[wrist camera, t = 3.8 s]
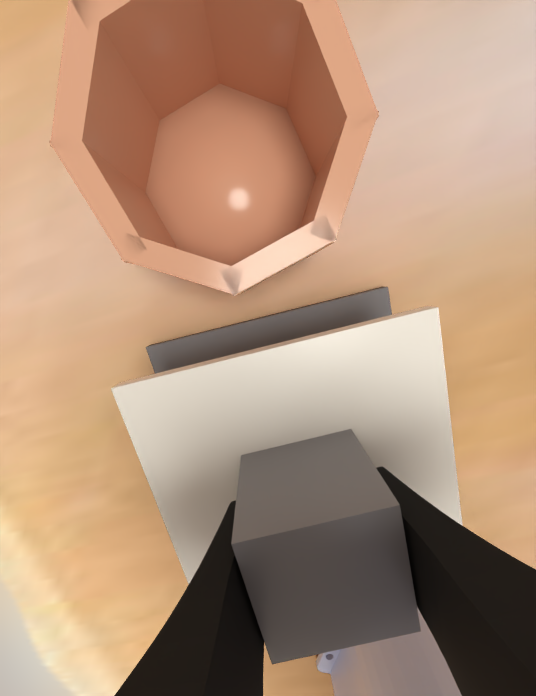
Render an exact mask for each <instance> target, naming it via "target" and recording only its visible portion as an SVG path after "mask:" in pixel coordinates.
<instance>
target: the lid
mask: <svg viewBox="0 0 536 696" xmlns="http://www.w3.org/2000/svg"><path fill="white" fill-rule="evenodd" d="M111 390H112V392H113V395H114V397H115V400H116V402H117V405H118V407H119V410H120V412H121V415H122V417H123V420H124V422H125V425H126V428H127V430H128V433H129V435H130V438H131V440H132V443H133V445H134V448H135V450H136V453H137V455H138V458H139V460H140V463H141V465H142V468H143V470H144V473H145V475H146V478H147V480H148V483H149V485H150V488H151V490H152V493H153V496H154V498H155V501H156V503H157V506H158V508H159V511H160V513H161V516H162V518H163V521H164V523H165V526H166V528H167V531H168V533H169V536H170V538H171V541H172V543H173V546H174V548H175V551H176V553H177V556H178V559H179V561H180V564H181V566H182V569H183V571H184V574H185V576H186V579H187V581H188V584H189V583H190V582H191V580H192V578H193V576H194V574H195V573H196V571H197V569H198V567H199V565H200V564H201V562H202V560H203V558H204V556H205V554H206V552H207V550H208V548H209V546H210V544H211V542H212V540H213V538H214V536H215V534H216V532H217V530H218V528H219V526H220V524H221V522H222V519H223V517H224V515H225V513H226V511H227V508H228V506H229V504H230V503H231V501H235V500H236V506H235V515H234V524H233V533H232V542H231V545H232V548H233V551H234V554H235V557H236V560H237V562H238V565H239V568H240V571H241V574H242V577H243V580H244V583H245V586H246V589H247V592H248V595H249V598H250V601H251V604H252V607H253V610H254V613H255V615H256V618H257V621H258V624H259V627H260V630H261V633H262V636H263V639H264V642H265V645H266V648H267V651H268V654H269V657H270V660H271V663H272V664H276V663H280V662H285V661H289V660H294V659H298V658H303V657H308V656H312V655H317V654H321V653H326V652H330V651H335V650H339V649H344V648H348V647H353V646H357V645H362V644H366V643H371V642H376V641H380V640H385V639H389V638H394V637H398V636H403V635H407V634H412V633H416V632H421V628H420V622H419V616H418V610H417V604H416V598H415V592H414V586H413V580H412V574H411V568H410V562H409V556H408V550H407V544H406V538H405V532H404V526H403V520H402V515H401V509H400V504H399V503H398V501H397V500H396V498H395V497H394V495H393V493H392V492H391V490H390V489H389V487H388V486H387V484H386V483H385V481H384V479H383V478H382V476H381V475H380V473H379V472H378V470H377V467H381V466H383V467H384V468H386V469H387V470H388V471H389V472H391V473H392V474H393V475H394V476H396V477H397V478H398V479H399V480H400V481H402V482H403V483H404V484H405V485H407V486H408V487H409V488H411V489H412V490H413V491H414V492H416V493H417V494H418V495H420V496H421V497H422V498H424V499H425V500H426V501H428V502H429V503H431V504H432V505H433V506H435V507H436V508H438V509H439V510H440V511H442V512H443V513H444V514H446V515H447V516H449V517H450V518H452V519H453V520H455V521H456V522H458V523H459V524H461V525H462V517H461V508H460V499H459V490H458V481H457V472H456V463H455V454H454V445H453V436H452V427H451V418H450V409H449V400H448V391H447V382H446V373H445V364H444V355H443V346H442V337H441V328H440V319H439V310H438V307H433V306H425V307H421V308H417V309H413V310H409V311H405V312H401V313H397V314H393V315H389V316H385V317H381V318H377V319H373V320H369V321H365V322H361V323H357V324H353V325H349V326H345V327H340V328H336V329H332V330H328V331H324V332H320V333H316V334H312V335H308V336H304V337H300V338H296V339H292V340H288V341H284V342H280V343H276V344H272V345H268V346H264V347H260V348H256V349H252V350H248V351H244V352H240V353H236V354H232V355H228V356H224V357H220V358H216V359H212V360H208V361H204V362H200V363H196V364H192V365H188V366H184V367H180V368H176V369H172V370H168V371H164V372H160V373H156V374H152V375H148V376H144V377H140V378H136V379H132V380H128V381H124V382H120V383H118V384H117V385H115V386H114V387H113V388H111Z"/></svg>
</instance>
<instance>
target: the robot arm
mask: <svg viewBox="0 0 536 696" xmlns="http://www.w3.org/2000/svg"><path fill="white" fill-rule="evenodd" d="M377 470H378V472H379V473H380V475H381V476H382V478H383V479H384V481H385V483H386V484H387V486H388V487H389V489H390V490H391V492H392V493H393V495H394V497H395V498H396V500H397V501H398V503H399V504H400V509H401V515H402V520H403V526H404V532H405V538H406V544H407V550H408V556H409V562H410V568H411V574H412V580H413V586H414V592H415V598H416V604H417V610H418V616H419V622H420V628H421V632H416V633H412V634H407V635H403V636H398V637H394V638H389V639H385V640H380V641H376V642H371V643H366V644H362V645H357V646H353V647H348V648H344V649H339V650H335V651H330V652H326V653H321V654H319V655H318V657H317V659H316V664H317V669H318V670H319V671H320V672H323V673H329V674H331V679H332V685H333V690H334V696H536V570H535V569H534V568H532V567H530V566H528V565H526V564H524V563H523V562H521V561H519V560H517V559H516V558H514V557H512V556H511V555H509V554H507V553H505V552H504V551H502V550H500V549H499V548H497V547H495V546H494V545H492V544H490V543H489V542H487V541H485V540H484V539H482V538H481V537H479V536H477V535H476V534H474V533H473V532H471V531H470V530H468V529H467V528H465V527H464V526H462V525H461V524H459V523H458V522H456V521H455V520H453V519H452V518H450V517H449V516H447V515H446V514H444V513H443V512H442V511H440V510H439V509H438V508H436V507H435V506H433V505H432V504H431V503H429V502H428V501H426V500H425V499H424V498H422V497H421V496H420V495H418V494H417V493H416V492H414V491H413V490H412V489H411V488H409V487H408V486H407V485H405V484H404V483H403V482H402V481H400V480H399V479H398V478H397V477H396V476H394V475H393V474H392V473H391V472H389V471H388V470H387V469H386V468H384V467H383V466H381V467H377ZM235 506H236V500H235V501H231V503H230V504H229V506H228V508H227V511H226V513H225V515H224V517H223V519H222V522H221V524H220V526H219V528H218V530H217V532H216V534H215V536H214V538H213V540H212V542H211V544H210V546H209V548H208V550H207V552H206V554H205V556H204V558H203V560H202V562H201V564H200V565H199V567H198V569H197V571H196V573H195V574H194V576H193V578H192V580H191V582H190V583H189V585H188V587H187V589H186V590H185V592H184V594H183V596H182V597H181V599H180V601H179V602H178V604H177V606H176V607H175V609H174V610H173V612H172V614H171V615H170V617H169V618H168V620H167V622H166V623H165V625H164V626H163V628H162V629H161V631H160V632H159V634H158V635H157V637H156V638H155V640H154V641H153V643H152V644H151V646H150V647H149V648H148V650H147V651H146V653H145V654H144V656H143V657H142V658H141V660H140V661H139V663H138V664H137V666H136V667H135V668H134V670H133V671H132V672H131V674H130V675H129V677H128V678H127V679H126V681H125V682H124V683H123V685H122V686H121V688H120V689H119V690H118V692H117V693H116V694H115V696H263V658H264V639H263V636H262V633H261V630H260V627H259V624H258V621H257V618H256V615H255V613H254V610H253V607H252V604H251V601H250V598H249V595H248V592H247V589H246V586H245V583H244V580H243V577H242V574H241V571H240V568H239V565H238V562H237V560H236V557H235V554H234V551H233V548H232V545H231V542H232V533H233V524H234V515H235Z"/></svg>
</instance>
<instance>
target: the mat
mask: <svg viewBox="0 0 536 696" xmlns="http://www.w3.org/2000/svg"><path fill="white" fill-rule="evenodd" d="M389 315H392V312H391V305H390V298H389V291H388V287H381V288H377V289H373V290H369V291H365V292H361V293H357V294H353V295H349V296H345V297H341V298H337V299H333V300H329V301H325V302H321V303H317V304H313V305H309V306H305V307H301V308H297V309H293V310H289V311H285V312H281V313H277V314H273V315H269V316H265V317H261V318H257V319H253V320H249V321H245V322H241V323H237V324H233V325H229V326H225V327H221V328H217V329H213V330H209V331H205V332H201V333H197V334H193V335H189V336H185V337H181V338H177V339H173V340H169V341H165V342H161V343H157V344H153V345H149V346H148V347H146V349H147V352H148V355H149V358H150V361H151V364H152V366H153V369H154V372H155V374H156V373H160V372H164V371H168V370H172V369H176V368H180V367H184V366H188V365H192V364H196V363H200V362H204V361H208V360H212V359H216V358H220V357H224V356H228V355H232V354H236V353H240V352H244V351H248V350H252V349H256V348H260V347H264V346H268V345H272V344H276V343H280V342H284V341H288V340H292V339H296V338H300V337H304V336H308V335H312V334H316V333H320V332H324V331H328V330H332V329H336V328H340V327H345V326H349V325H353V324H357V323H361V322H365V321H369V320H373V319H377V318H381V317H385V316H389Z"/></svg>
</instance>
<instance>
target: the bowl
mask: <svg viewBox="0 0 536 696" xmlns="http://www.w3.org/2000/svg"><path fill="white" fill-rule="evenodd" d="M378 112H379V111H377V109H376V107H375V104H374V101H373V99H372V96H371V93H370V91H369V88H368V85H367V83H366V80H365V77H364V75H363V72H362V69H361V66H360V64H359V61H358V58H357V56H356V53H355V50H354V48H353V45H352V42H351V40H350V37H349V34H348V31H347V29H346V26H345V23H344V21H343V18H342V15H341V13H340V10H339V7H338V5H337V2H336V0H69V1H68V9H67V17H66V25H65V33H64V41H63V49H62V56H61V64H60V72H59V80H58V88H57V96H56V104H55V112H54V120H53V127H52V135H51V140H50V141H49V142H50V146H51V147H53V148H54V150H55V152H56V153H57V155H58V156H59V158H60V160H61V161H62V163H63V164H64V166H65V168H66V169H67V171H68V172H69V174H70V176H71V177H72V179H73V181H74V182H75V184H76V185H77V187H78V189H79V190H80V192H81V193H82V195H83V197H84V198H85V200H86V201H87V203H88V205H89V206H90V208H91V209H92V211H93V213H94V214H95V216H96V217H97V219H98V221H99V222H100V224H101V226H102V227H103V229H104V230H105V232H106V234H107V235H108V237H109V238H110V240H111V242H112V243H113V245H114V246H115V248H116V250H117V251H118V253H119V254H120V256H121V260H123V261H124V262H126V263H132V264H136V265H140V266H143V267H146V268H149V269H153V270H156V271H159V272H162V273H166V274H169V275H172V276H175V277H178V278H182V279H185V280H188V281H191V282H195V283H198V284H201V285H204V286H208V287H211V288H214V289H217V290H221V291H224V292H227V293H230V294H232V295H233V296H234V295H239V294H241V293H243V292H245V290H247V289H249V288H251V287H253V286H254V285H256V284H258V283H260V282H262V281H264V280H265V279H267V278H269V277H271V276H273V275H275V274H276V273H278V272H280V271H282V270H284V269H286V268H287V267H289V266H291V265H293V264H295V263H297V262H298V261H300V260H302V259H304V258H308V257H309V256H311V255H313V254H315V253H316V252H318V251H320V250H322V249H324V248H325V247H327V246H329V245H331V244H332V243H334V242H335V240H337V238H336V236H337V233H338V230H339V227H340V224H341V221H342V219H343V216H344V213H345V210H346V207H347V204H348V201H349V198H350V195H351V192H352V189H353V186H354V183H355V180H356V177H357V174H358V171H359V168H360V165H361V162H362V160H363V157H364V154H365V151H366V148H367V145H368V142H369V139H370V136H371V133H372V130H373V127H374V124H375V121H376V119H377V118H378V116H379V115H378Z"/></svg>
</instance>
